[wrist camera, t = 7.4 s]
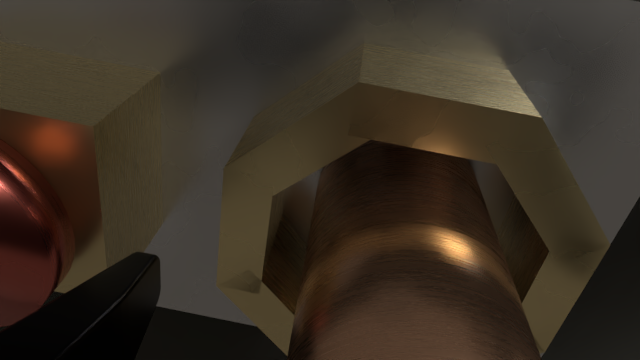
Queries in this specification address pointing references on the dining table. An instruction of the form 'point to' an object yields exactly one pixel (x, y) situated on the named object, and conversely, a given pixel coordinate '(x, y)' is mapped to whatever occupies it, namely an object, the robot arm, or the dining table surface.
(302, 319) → the pipe stub
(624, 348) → the dining table surface
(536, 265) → the panel with octagonal sockets
